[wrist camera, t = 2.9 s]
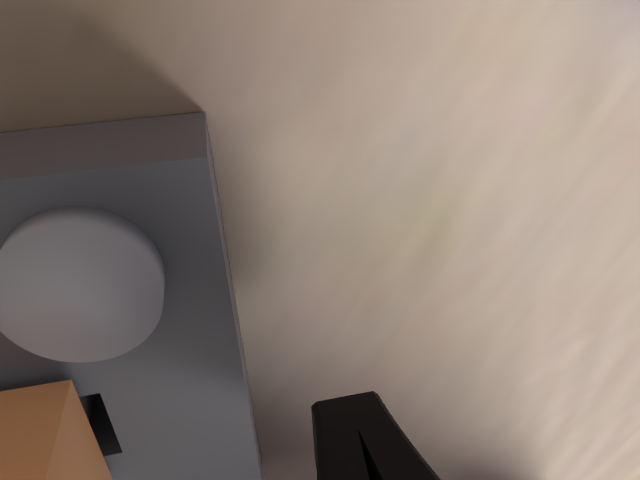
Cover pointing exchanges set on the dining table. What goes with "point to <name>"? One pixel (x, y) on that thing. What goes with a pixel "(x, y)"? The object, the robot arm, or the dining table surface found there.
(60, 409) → the fader tab
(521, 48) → the dining table surface
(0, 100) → the dining table surface
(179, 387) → the console board
